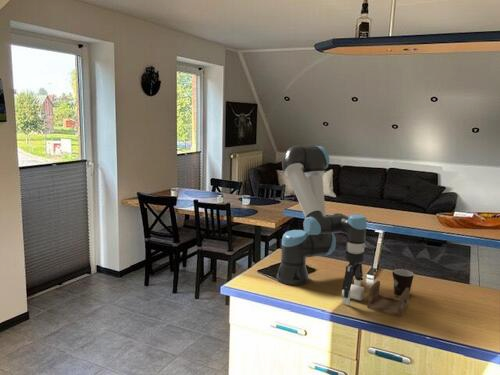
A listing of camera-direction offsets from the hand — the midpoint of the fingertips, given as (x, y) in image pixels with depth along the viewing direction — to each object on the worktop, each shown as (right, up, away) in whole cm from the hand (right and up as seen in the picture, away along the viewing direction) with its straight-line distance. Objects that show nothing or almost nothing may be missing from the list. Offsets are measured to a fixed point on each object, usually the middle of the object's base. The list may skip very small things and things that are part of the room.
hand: (351, 299), depth 181 cm
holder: (+14, -2, -6) cm, 15 cm away
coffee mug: (+25, 0, +9) cm, 26 cm away
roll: (0, 0, 0) cm, 0 cm away
